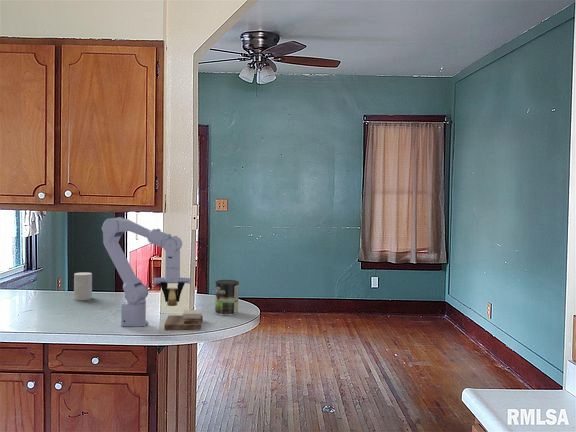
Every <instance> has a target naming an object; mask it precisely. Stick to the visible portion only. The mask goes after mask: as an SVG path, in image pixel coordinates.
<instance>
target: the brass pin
mask: <svg viewBox="0 0 576 432" xmlns="http://www.w3.org/2000/svg"><path fill="white" fill-rule="evenodd" d="M177 296H178V287H167V302H166V303H167V304H166V306H167V307H175V306H176V307H177V306H178V302H177Z"/></svg>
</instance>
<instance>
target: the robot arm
mask: <svg viewBox="0 0 576 432" xmlns="http://www.w3.org/2000/svg"><path fill="white" fill-rule="evenodd" d="M101 230H102V238H103V239H102V242H103V245H104V247H105V250H106V252H107V253H108V255H109V257H110V260H111V261H112V263H113V265H114V267H115V269H116V270H117V273H118V275H119V277H120V279H121V281H122V282H123V284H122V289H123V292H124V299H125V300H126V301H127V302H126V301H125V302H122V303H121V309H120V311H121V312H120V313H121V319H120V320H121V321H120V322H121V323H120V326H121V327H146V326H147V324H148V322H149V321H148V320H147V318H146V317H147V316H146V315H147V306H146V305H147V300H146V298H147V297H148V295H149V289H148V287H147V285H145V284H144V283H143V282H142V280H141V279H140V278H139V277H138V276H136V274H135V271H134V269H133V268H132V266H131V264H130V263H129V261H128V259H127V257H126V254H125V253H124V250H123V249H122V247H121V245H120V243H119V242H120V240H121V237H122V235H124V233H125V232H131V233H133V234H136V235H138V236H142V237H144V238H146V239H147V241H148V243H150V244H153V245H155V246H157V247H159V248H162V249H163V250H164V251H165V261H164V262H165V264H164V265H165V266H164V267H165V271H164V272H165V274H164V277H154V278H153V284H159V285H160V288H161V290H162V292H163V295H164V296H163V297H164V300H165V301H164V302H165V303H167V289H168V288H169V287H168V286H169V284H177V289H178V296H177V303H180V299H181V298H180V297H181V294H182V291H183V288H184V286H185V284H192V278H191V277H181V248H182V247H183V241H182V239H181V238H180V237H178V236H176V235H172V234H171V233H165V232H163V231H162V229H160V228H153V229H148V228H146V227H145V226H142V225H140V224H138V223H136V222H134V221H133V220H130V219H128V218H124V217H122V216H118V217H111V218H110V217H109V218H107V219H106V220H104V222H103V223H102V226H101Z"/></svg>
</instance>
